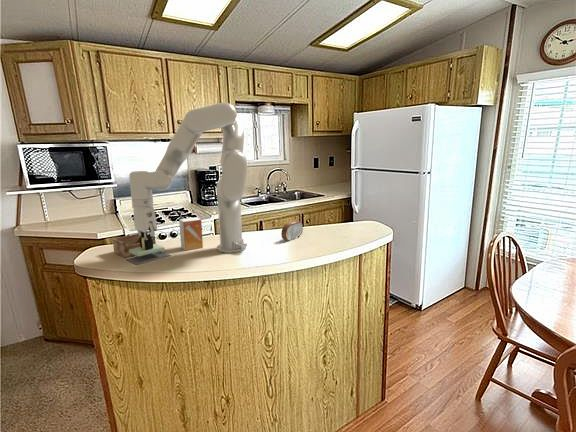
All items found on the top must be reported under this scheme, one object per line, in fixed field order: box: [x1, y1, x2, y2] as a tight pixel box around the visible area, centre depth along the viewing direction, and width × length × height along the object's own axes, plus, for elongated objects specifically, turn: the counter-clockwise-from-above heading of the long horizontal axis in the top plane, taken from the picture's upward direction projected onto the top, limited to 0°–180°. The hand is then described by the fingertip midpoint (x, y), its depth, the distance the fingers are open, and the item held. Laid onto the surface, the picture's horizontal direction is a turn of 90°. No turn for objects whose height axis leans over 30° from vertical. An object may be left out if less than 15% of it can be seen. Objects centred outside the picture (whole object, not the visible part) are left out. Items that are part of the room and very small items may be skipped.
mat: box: [125, 251, 171, 266], centre depth 130 cm, size 9×14×1 cm, turn 140°
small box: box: [178, 216, 204, 251], centre depth 141 cm, size 8×6×13 cm
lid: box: [129, 237, 166, 257], centre depth 129 cm, size 8×11×6 cm
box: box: [112, 232, 157, 260], centre depth 136 cm, size 11×13×6 cm
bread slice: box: [281, 220, 304, 242], centre depth 154 cm, size 15×3×8 cm, turn 144°
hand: (146, 247), depth 129 cm, fingers closed on lid, 3 cm apart
